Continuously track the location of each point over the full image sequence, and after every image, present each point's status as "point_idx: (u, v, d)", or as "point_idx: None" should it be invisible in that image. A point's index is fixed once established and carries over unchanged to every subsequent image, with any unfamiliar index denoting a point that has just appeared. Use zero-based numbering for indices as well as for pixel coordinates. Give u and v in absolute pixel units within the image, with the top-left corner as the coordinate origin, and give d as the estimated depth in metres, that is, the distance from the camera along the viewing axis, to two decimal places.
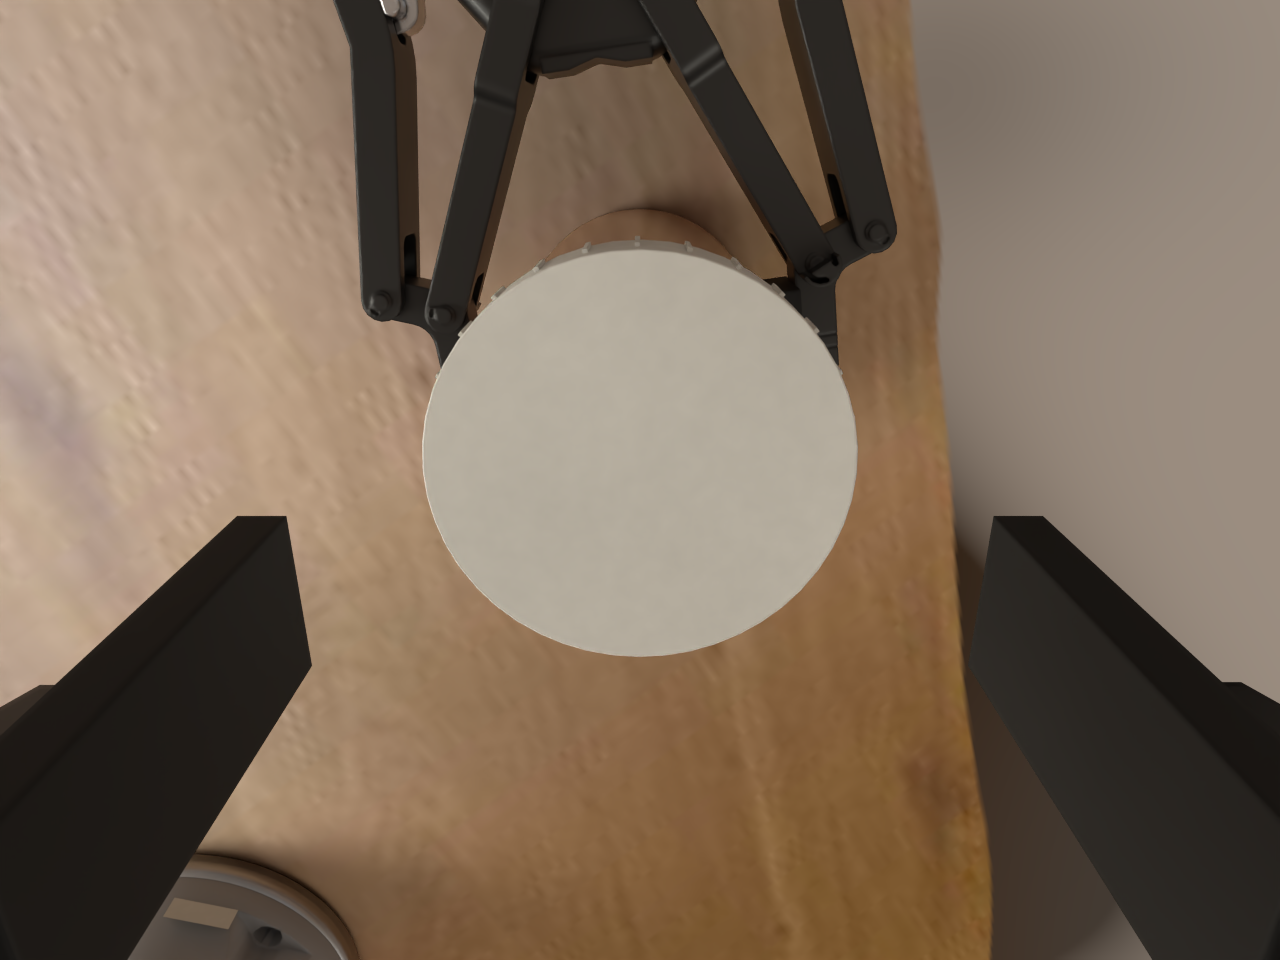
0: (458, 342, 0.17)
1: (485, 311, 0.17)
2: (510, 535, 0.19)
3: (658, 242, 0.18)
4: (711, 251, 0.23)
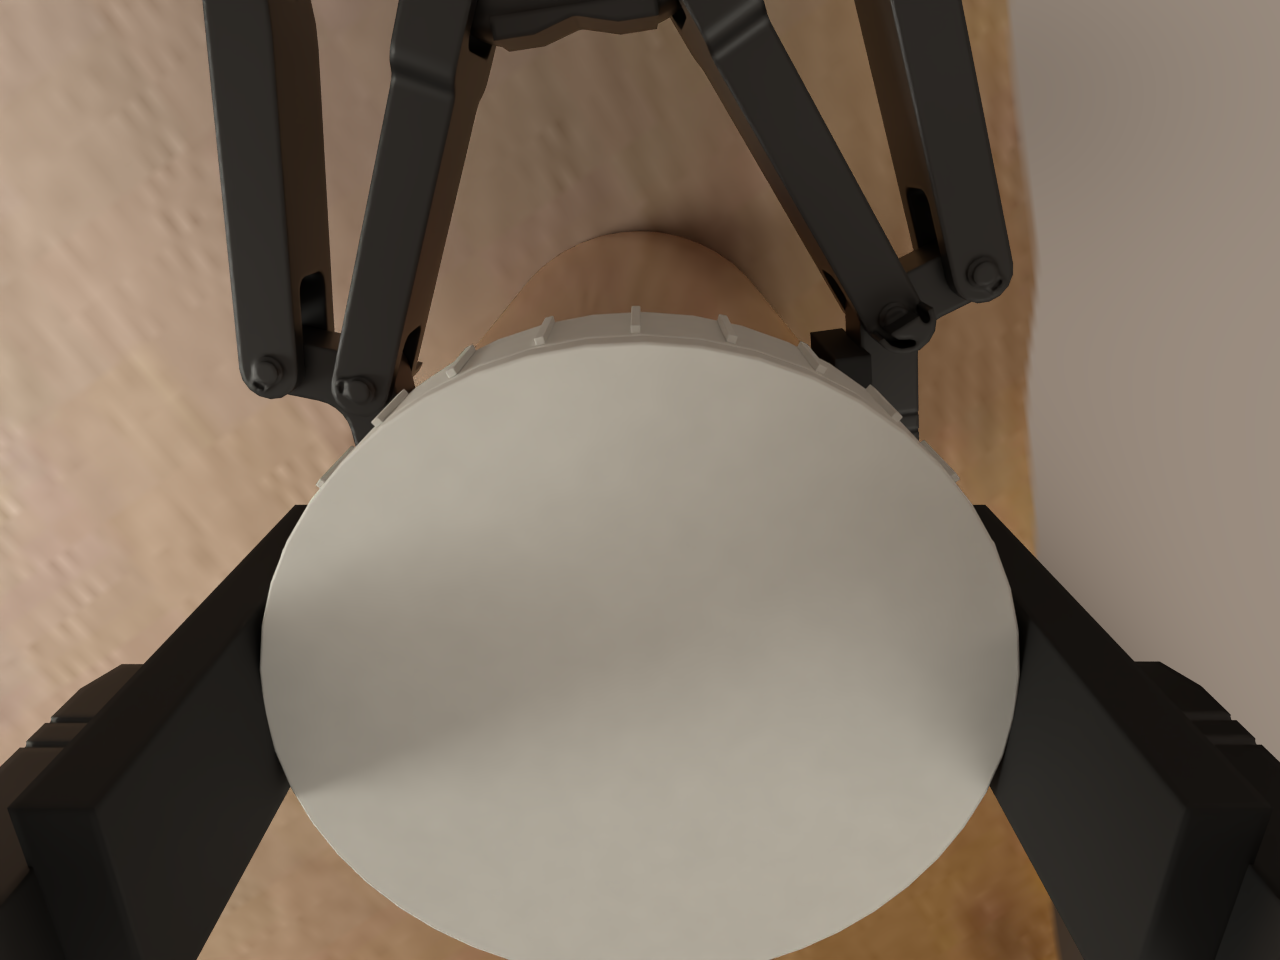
0: (311, 504, 0.10)
1: (356, 452, 0.09)
2: (420, 808, 0.11)
3: (672, 319, 0.10)
4: (747, 306, 0.15)
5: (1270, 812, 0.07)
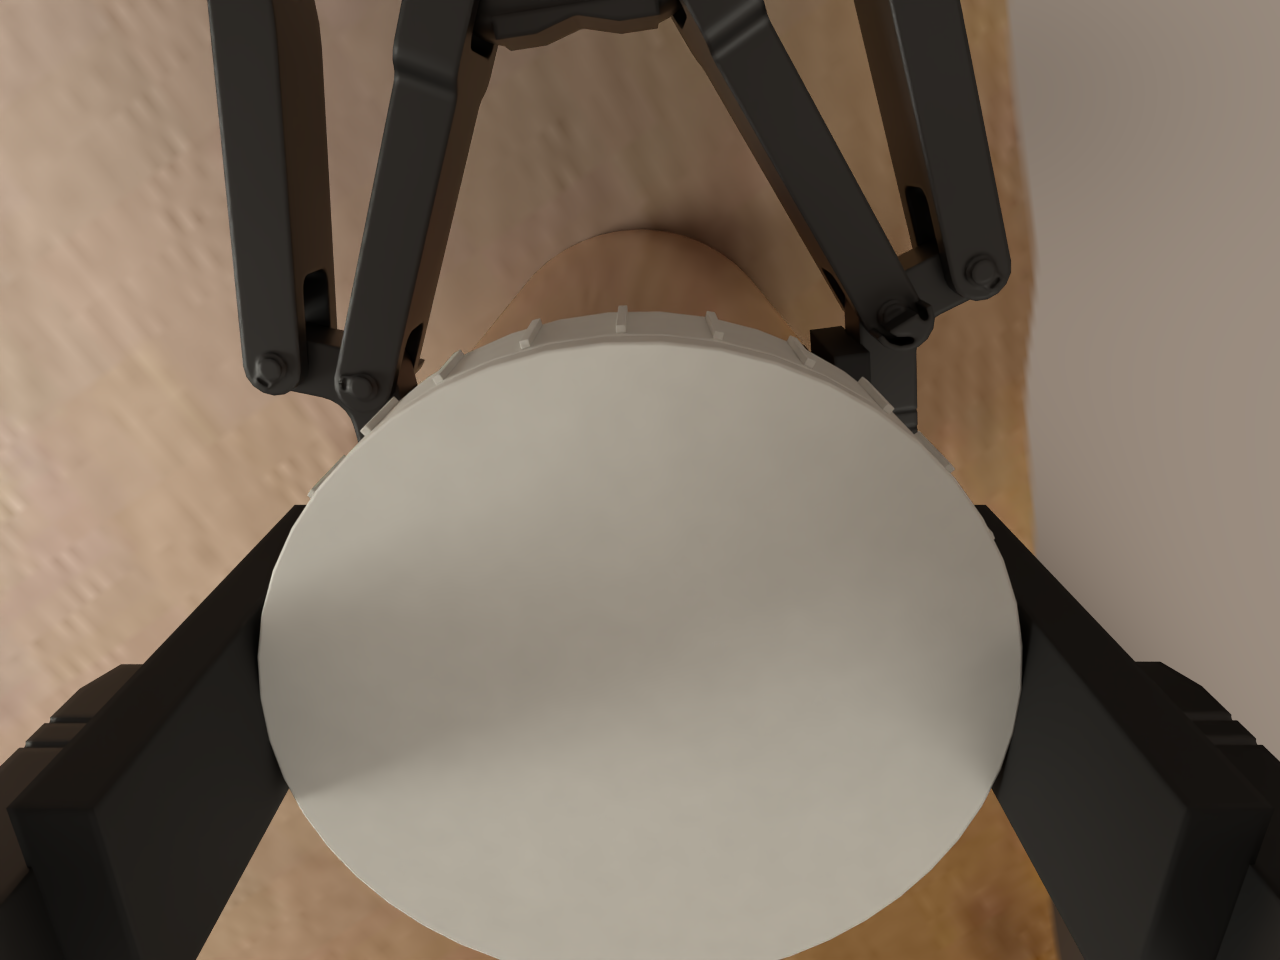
0: None
1: None
2: (842, 830, 0.11)
3: None
4: (747, 304, 0.15)
5: (1271, 813, 0.07)
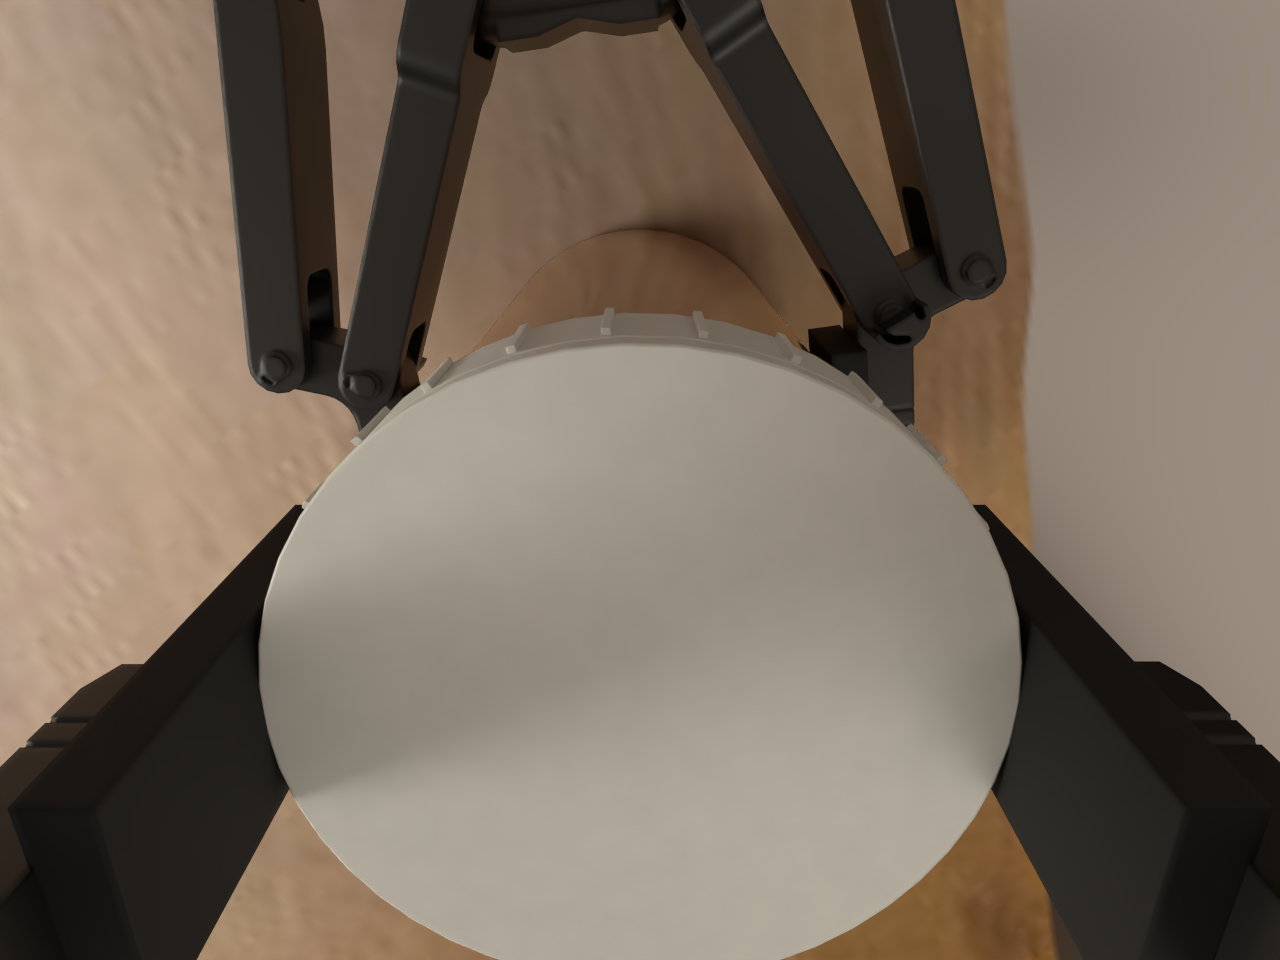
0: (1015, 616, 0.10)
1: (1020, 680, 0.10)
2: (676, 474, 0.09)
3: None
4: (745, 303, 0.16)
5: (1270, 812, 0.07)
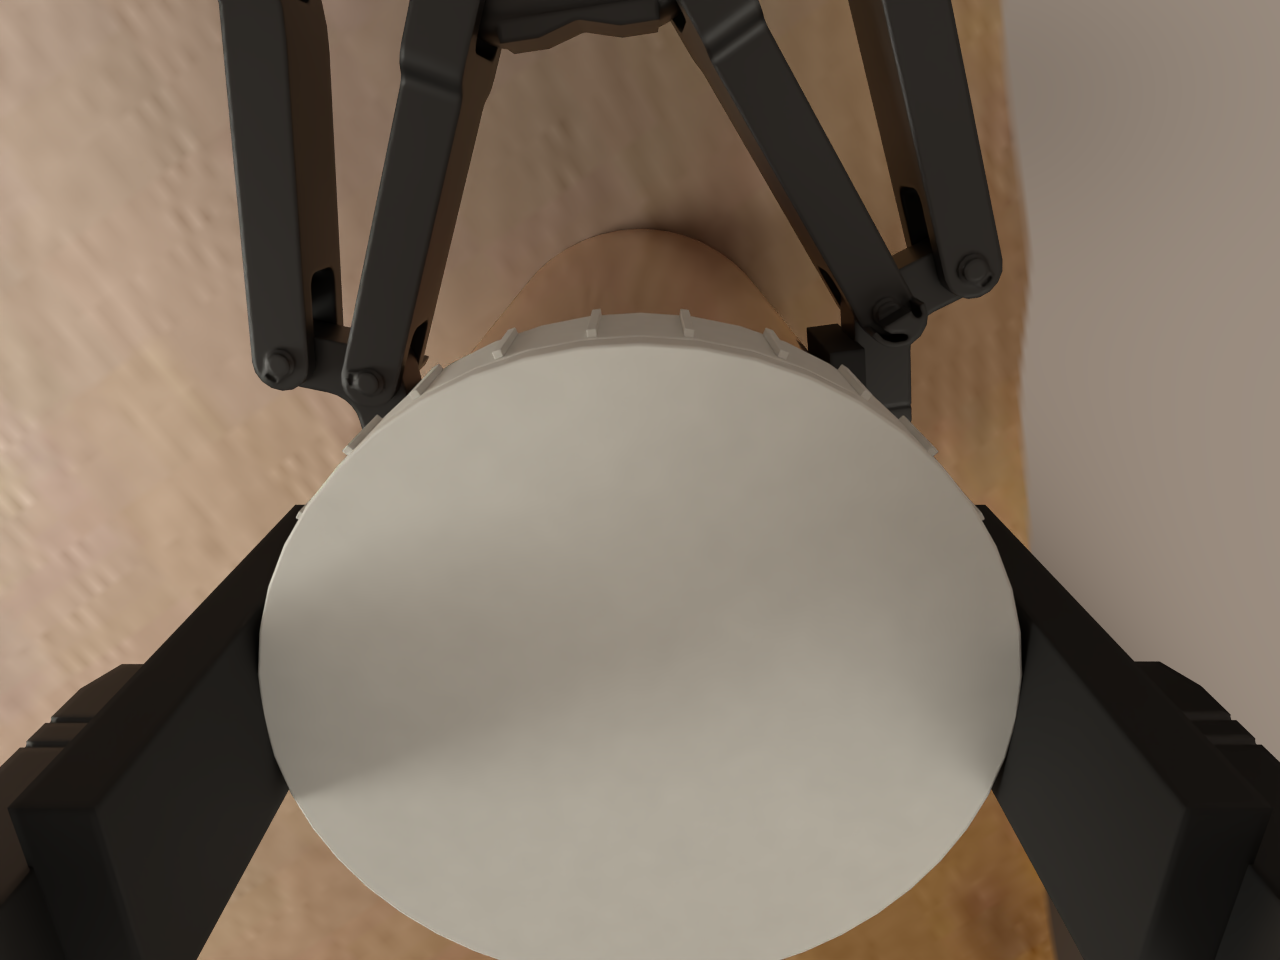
0: (338, 470, 0.09)
1: (392, 423, 0.09)
2: (404, 788, 0.11)
3: (721, 327, 0.10)
4: (744, 301, 0.16)
5: (1270, 812, 0.07)
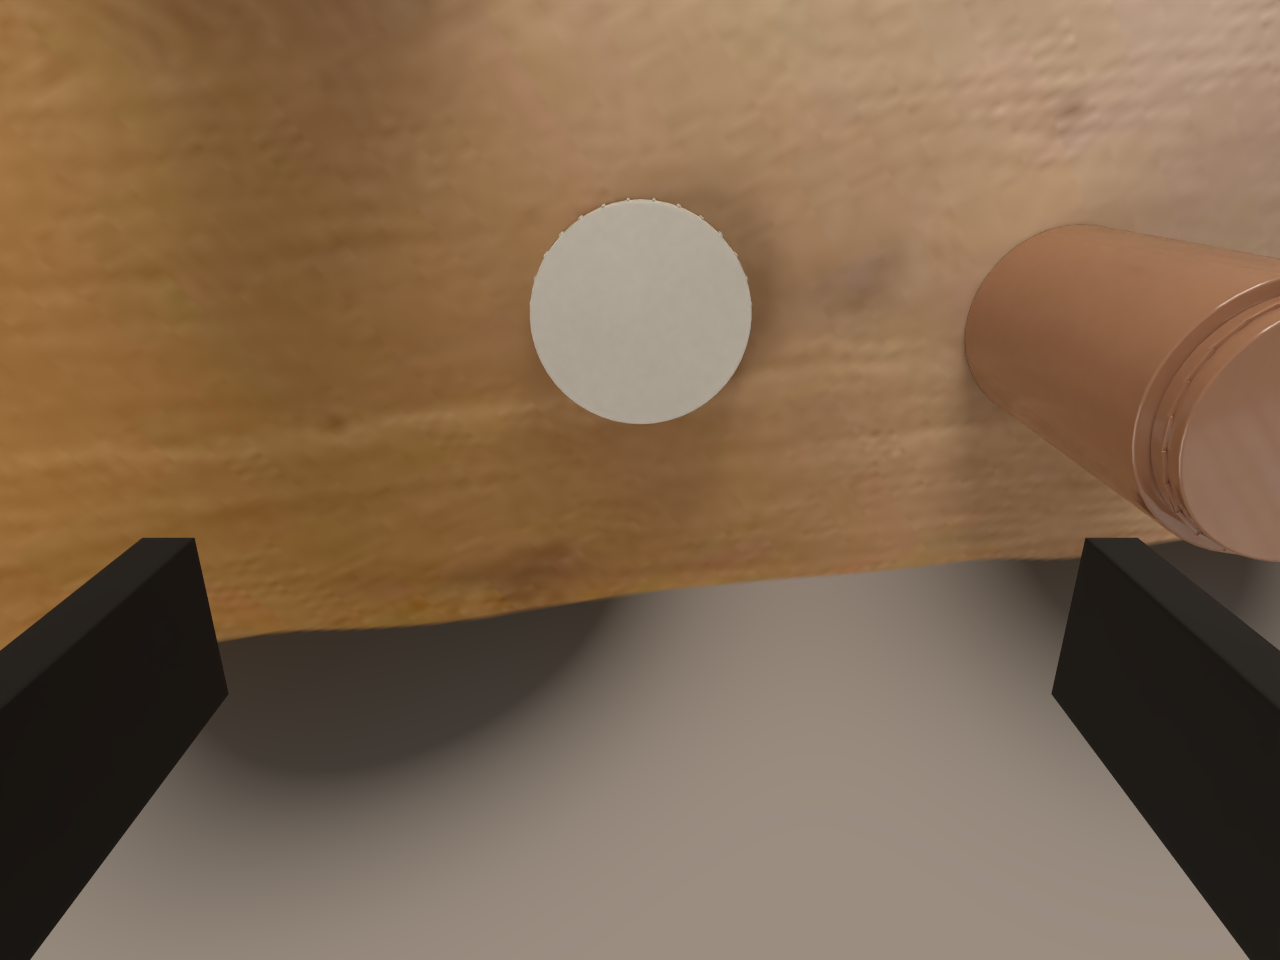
0: (559, 238, 0.34)
1: (575, 224, 0.34)
2: (569, 345, 0.36)
3: (663, 202, 0.35)
4: None
5: None
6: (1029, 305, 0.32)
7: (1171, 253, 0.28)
